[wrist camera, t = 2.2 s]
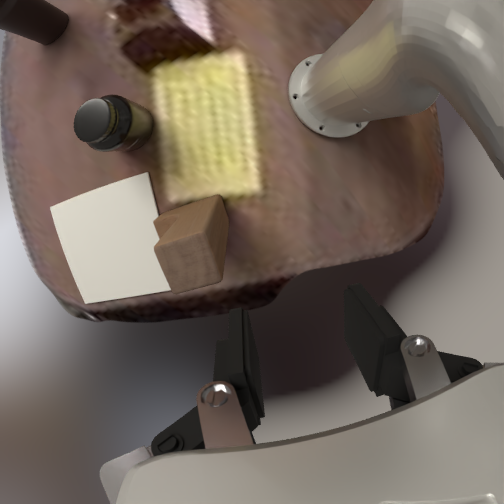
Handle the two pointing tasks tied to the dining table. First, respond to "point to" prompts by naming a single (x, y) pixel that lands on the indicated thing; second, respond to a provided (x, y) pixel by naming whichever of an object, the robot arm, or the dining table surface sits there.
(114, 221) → the off-white mat
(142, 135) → the supplement bottle
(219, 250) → the wooden block
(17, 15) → the vinegar
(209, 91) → the dining table surface
